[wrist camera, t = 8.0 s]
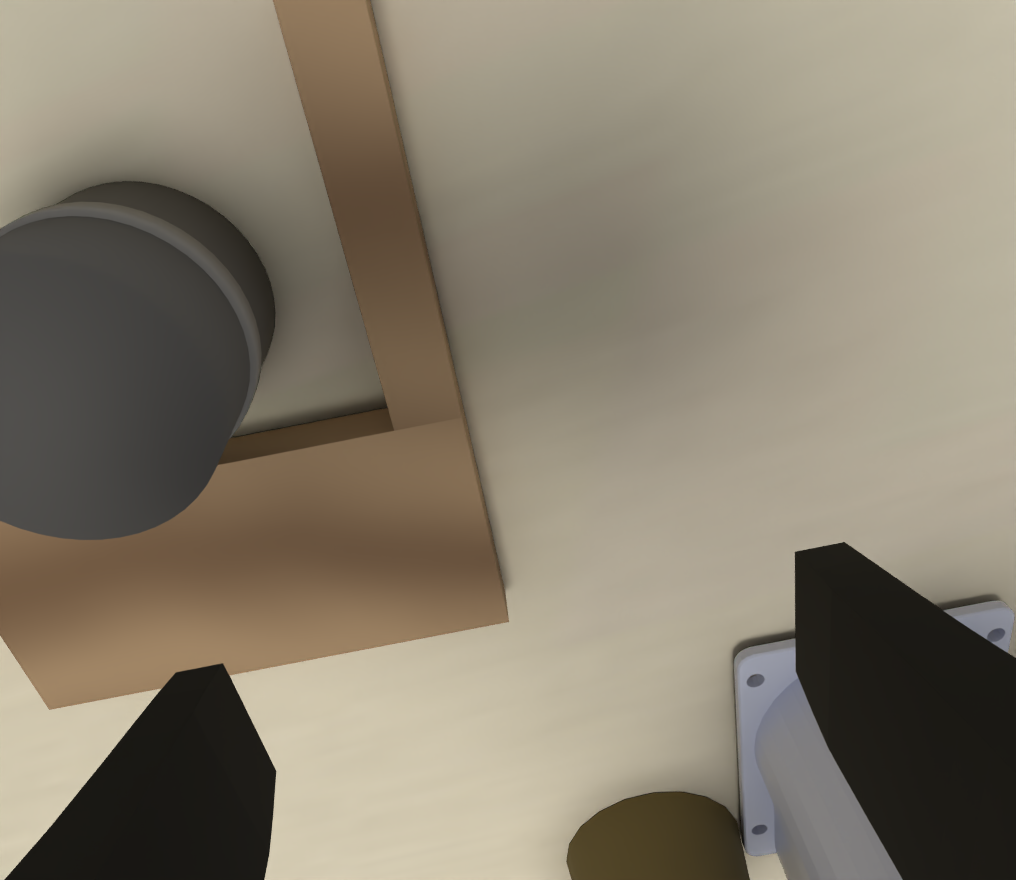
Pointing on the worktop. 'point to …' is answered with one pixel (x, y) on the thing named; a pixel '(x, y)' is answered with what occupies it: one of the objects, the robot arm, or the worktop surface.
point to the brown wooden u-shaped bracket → (294, 464)
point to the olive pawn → (659, 841)
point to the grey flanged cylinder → (123, 357)
